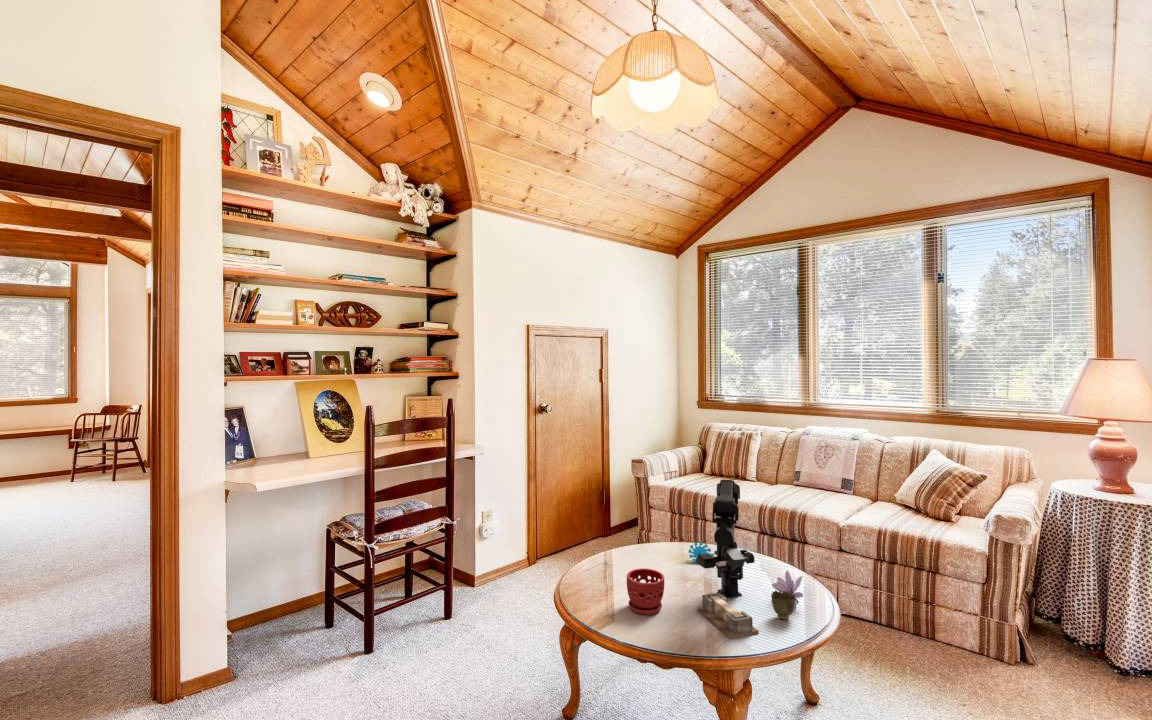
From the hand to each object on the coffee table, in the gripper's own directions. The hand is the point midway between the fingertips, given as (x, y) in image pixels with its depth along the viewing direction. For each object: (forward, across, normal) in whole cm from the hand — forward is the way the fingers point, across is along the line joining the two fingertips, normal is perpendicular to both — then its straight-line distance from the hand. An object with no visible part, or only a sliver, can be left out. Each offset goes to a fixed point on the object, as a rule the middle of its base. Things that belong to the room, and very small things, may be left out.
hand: (725, 584), depth 179 cm
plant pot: (+12, -22, +16) cm, 30 cm away
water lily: (+12, +27, +5) cm, 30 cm away
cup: (+12, +19, -4) cm, 23 cm away
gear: (+12, +20, +52) cm, 57 cm away
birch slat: (+11, 0, 0) cm, 11 cm away
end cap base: (+12, 0, 0) cm, 12 cm away
